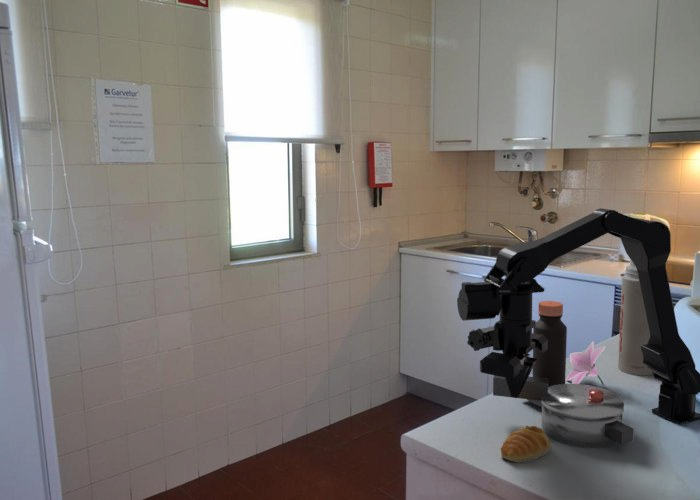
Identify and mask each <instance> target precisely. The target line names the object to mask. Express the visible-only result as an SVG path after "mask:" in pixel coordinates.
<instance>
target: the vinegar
mask: <svg viewBox="0 0 700 500" xmlns="http://www.w3.org/2000/svg"><path fill="white" fill-rule="evenodd" d="M563 310H564V304H563V303H562V302H559V301H556V300H555V301H554V300H543V301H540V302H538V317H539V319H538V320H537V321H536V326H535V327H533V328H532V333H534V334H541V335H544V336H545V337H546V339H547V340H548V349H547V350H546V351H545V352H544V353H541V352H540V351H539V348H537V347H536V348H534V349H533V350H532V358H536V359H537V362H536V363H535V365H534V367H533V369H532V376H531V377H540V378H548V387H550V386H553V385H559V384H566V374H567V372H566V369H567V367H566V366H567V341H568V340H567V336H568V335H567V333H568V327H567V325H565V323H564V322H563V321H562V318H563V313H564V311H563Z"/></svg>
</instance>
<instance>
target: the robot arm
mask: <svg viewBox="0 0 700 500" xmlns="http://www.w3.org/2000/svg"><path fill="white" fill-rule="evenodd" d="M607 234H608V235H611V236H614V237H616V238H619V239H620V241H621V244H622V246H623V248H624V251H625V253H626V255H627V256H628V258H629V259H631V260H632V262H633V263H634V264H635V266H636V268H637V272H638V277H639V282H640V287H641V292H642V297H643V301H644V306H645V311H646V316H647V321H648V326H649V331H650V338H649V341H648V343H647V344H646V345H641V350H642V353H643V363H644V364H646V365H647V367H648V368H649V370H651V371H652V374H651V375H652V377H653V378H654V379H655V380H657V381H659V382H661V384H659V393H658V404H657V407H654V408H651V413H654V414H656V415H658V416H660V417H663V418H665V419H668V420H669V421H672V422H674V423H677V424H680V425H681V424H685V423H689V422H693V421H695V420H696V421H697V420H698V419H700V413H699V412H696V400H697V396H698V394H699V393H700V372H699V371H698V370H697V369H696V363H695V361H694V358H693V356H692V352H691V350H690V349H689V347H688V346H687V344H686V343H685V342H684V340H683V339H682V337H681V336H680V333H679V329H678V323H677V318H676V311H675V308H674V303H673V298H672V297H673V296H672V291H671V288H670V287H671V286H670V283H669V282H670V281H669V277H668V272H667V265H666V264H667V262H668V259H669V257H670V255H671V251H672V246H671V245H672V243H671V242H672V241H671V240H672V239H671V237H672V236H671V231H670V228H669V226H668V225H666V224H664V223H663V222H661V221H656V220H650V219H643V218H635V217H631V216H629V215H626V214H623V213H620V212H618V211H617V210H614V209H608V208H603V207H602V208H597V209H595V210H594V211H593V212H591V213H590V214H588V215H585V216H584V217H581V218H579V219H577V220H576V221H573V222H571V223H570V224H567V225H564V227H561V228H559V229H558V230H555V231H552V232H551V233H549V234H547V235H545V236H543V237H541V238H538V239H536V240H535V239H534V240H529V241H524V242H519V243H516V244H513V245H509V246H505V247H504V248H502V249H500V251H498V252H497V256H496V259H495V263H494V265H493V266H492V267H491V269H490V270H489V272H488V273H487V275H485V278H483V282H482V281H480V282H471V281H470V282H469V281H465V282H463V281H462V283H461V289H460V290H459V292H458V295H457V296H458V297H457V299H456V304H457V311H458V314H459V317H460V319H461V320H462V321H464V322H465V321H476V320H492V319H495V318H496V316H499V320H498V321H496V322H495V323H494V325H493V326H489V327H488V326H487V327H483V328H477V329H471V330H470V331H469V332H468V336H467V342H466V343H467V345H468V346H470V348H472V349H473V352H477V351H480V350H481V349H482V350H483V349H486V348H487V349H488V348H492V350H493V351H491V352H490V353H488V354H487V355H485V356H484V357H483V358H482V359H480V360H479V372H480V373H482V374H485V375H491V376H494V375H495V376H500V377H505V378H506V382H507V385H508V388H509V391H510V394H511V397H510V398H513V399H519V398H518V397H519V395H520V393H521V391H522V389H523V386H524V384H525V382H526V380H527V378H528V376H530V374H531V373H532V372H533V367H534V365H535V363H536V362H537V359H536V358H533V357H531V356H530V355H531V354H530V352H532V351H533V349H534V348H536V347H537V348H539V351H540V352H541V353H544V352H545V351H546V350H547V349H548V340H547V339H546V337H545V336H544V335H541V334H534V333H533V327H535V326H536V322H537V321H536V320H533V293H534V294H536V293H537V294H538V293H544V292H545V288H544V287H542V286H541V285H540V284H539V283H538V281H537V280H536V277H538V276H539V275H541V274H542V273H543V272H545V270H546V269H547V268H548V267H549V266H550V264H551V263H553V262H554V261H555V260H557V259H558V258H561V257H563V256H564V255H566V254H568V253H571V252H573V251H575V250H577V249H578V248H580V247H583V246H585V245H586V244H589V243H590V242H593V241H595V240H597V239H599V238H601V237H603V236H605V235H607ZM503 277H505V278H503ZM495 351H497V352H495ZM500 351H502V353H501V352H500Z"/></svg>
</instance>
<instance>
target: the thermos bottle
mask: <svg viewBox="0 0 700 500" xmlns="http://www.w3.org/2000/svg"><path fill="white" fill-rule="evenodd" d="M629 259H630V258H629ZM624 272H625V274H624V275H622V276H621V294H620V296H621V297H620V316H619V317H620V318H619V336H618V338H619V339H618V342H619V343H618V357H617V358H618V360H617V361H618V362H617V368H618V370H619V371H621V372H624V373H627V374H629V375H636V376H650V375H653V374H652V371H651V370H649V368H648V367H647V365H646V364H644V363H643V353H642V350H641V345H646V344H647V343H648V341H649V338H650V331H649V326H648V321H647V316H646V311H645V306H644V301H643V297H642V292H641V287H640V282H639V277H638V272H637V268H636V266H635V264H634V263H633V262H632V260H631V259H630V261H629V265H627V266H626V267H625V270H624Z"/></svg>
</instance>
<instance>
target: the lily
mask: <svg viewBox="0 0 700 500" xmlns="http://www.w3.org/2000/svg"><path fill="white" fill-rule="evenodd" d="M594 345H595V342H594V341H592V342H590V344H589V345H588V347H587V348H586V350H585V351H584V352H581V351H577V352H576V351H575V352H572V353H570V354H569V362H570V365H571V366H572V368H573V369H572V370H571V371H570V372H569V373H568V375H567V376H566V377H565V382H566V381H567V382H568V381H570V380H571V384H581V382H582V380H583V379H584V378H585V376H586V377H597V378H598V380H599V381H600V383H601V384H602V385H604V382H603V380H602V378H601V377H600V375H599V372H598V369H597V366H596V364H595V362H596V361H597V359H598V358H599V356H600V355H601V354H602V353H603V351H604V350H605V349H607V348H606V345H602V346H598V347H596V348H595V347H594Z"/></svg>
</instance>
